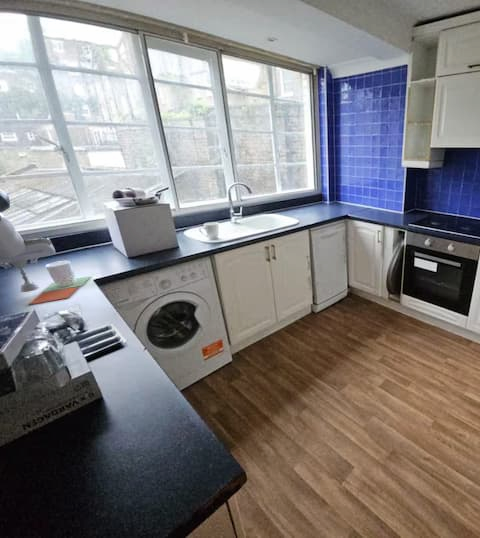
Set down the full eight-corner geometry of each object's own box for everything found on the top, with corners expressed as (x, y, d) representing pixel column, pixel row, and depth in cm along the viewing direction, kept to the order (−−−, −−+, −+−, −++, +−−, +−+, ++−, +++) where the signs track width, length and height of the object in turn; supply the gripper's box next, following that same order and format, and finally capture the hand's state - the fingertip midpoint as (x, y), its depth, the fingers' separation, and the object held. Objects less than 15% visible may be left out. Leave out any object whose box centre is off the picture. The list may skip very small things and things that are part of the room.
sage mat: (42, 292, 126) (42, 292, 126) (54, 282, 135) (54, 282, 135) (80, 286, 131) (80, 285, 131) (89, 277, 140) (89, 276, 140)
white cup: (81, 282, 134) (72, 262, 130) (58, 289, 128) (48, 268, 124) (75, 278, 138) (66, 259, 134) (52, 285, 132) (42, 264, 128)
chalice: (15, 289, 109) (-5, 242, 102) (41, 284, 114) (23, 238, 107) (17, 295, 105) (-4, 246, 98) (44, 289, 110) (26, 242, 103)
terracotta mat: (29, 305, 116) (28, 304, 116) (43, 293, 125) (42, 292, 125) (68, 298, 120) (67, 297, 120) (78, 287, 130) (78, 286, 130)
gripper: (46, 229, 103) (58, 250, 114) (-47, 242, 90) (-24, 264, 101) (51, 244, 102) (62, 263, 112) (-43, 259, 89) (-20, 279, 99)
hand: (21, 264), depth 106 cm, fingers closed on chalice, 5 cm apart
